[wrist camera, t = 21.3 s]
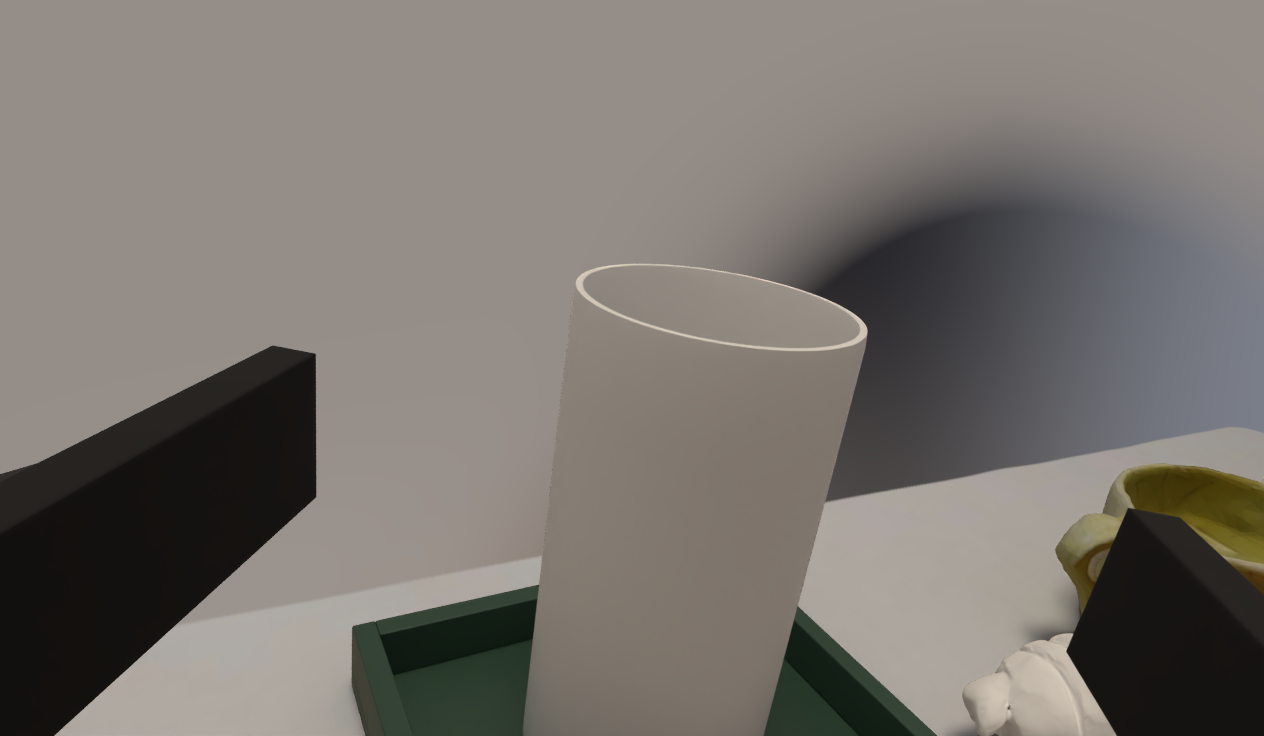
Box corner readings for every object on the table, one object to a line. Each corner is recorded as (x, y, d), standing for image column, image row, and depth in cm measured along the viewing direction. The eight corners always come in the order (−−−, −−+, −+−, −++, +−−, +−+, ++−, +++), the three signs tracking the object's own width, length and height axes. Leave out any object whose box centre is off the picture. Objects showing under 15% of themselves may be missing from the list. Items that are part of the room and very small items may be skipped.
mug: (1210, 558, 42) (1293, 426, 36) (1334, 742, 34) (1469, 613, 27) (983, 557, 43) (1025, 429, 37) (1050, 734, 35) (1118, 609, 29)
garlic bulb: (919, 704, 30) (957, 595, 28) (1053, 712, 31) (1099, 605, 29) (989, 829, 25) (1041, 706, 23) (1148, 834, 26) (1210, 715, 24)
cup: (801, 801, 25) (936, 349, 19) (568, 879, 21) (650, 352, 16) (686, 635, 31) (761, 267, 26) (496, 673, 28) (536, 258, 22)
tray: (458, 1079, 17) (465, 1006, 16) (351, 682, 27) (351, 625, 26) (938, 812, 26) (960, 755, 25) (719, 587, 36) (729, 541, 35)
